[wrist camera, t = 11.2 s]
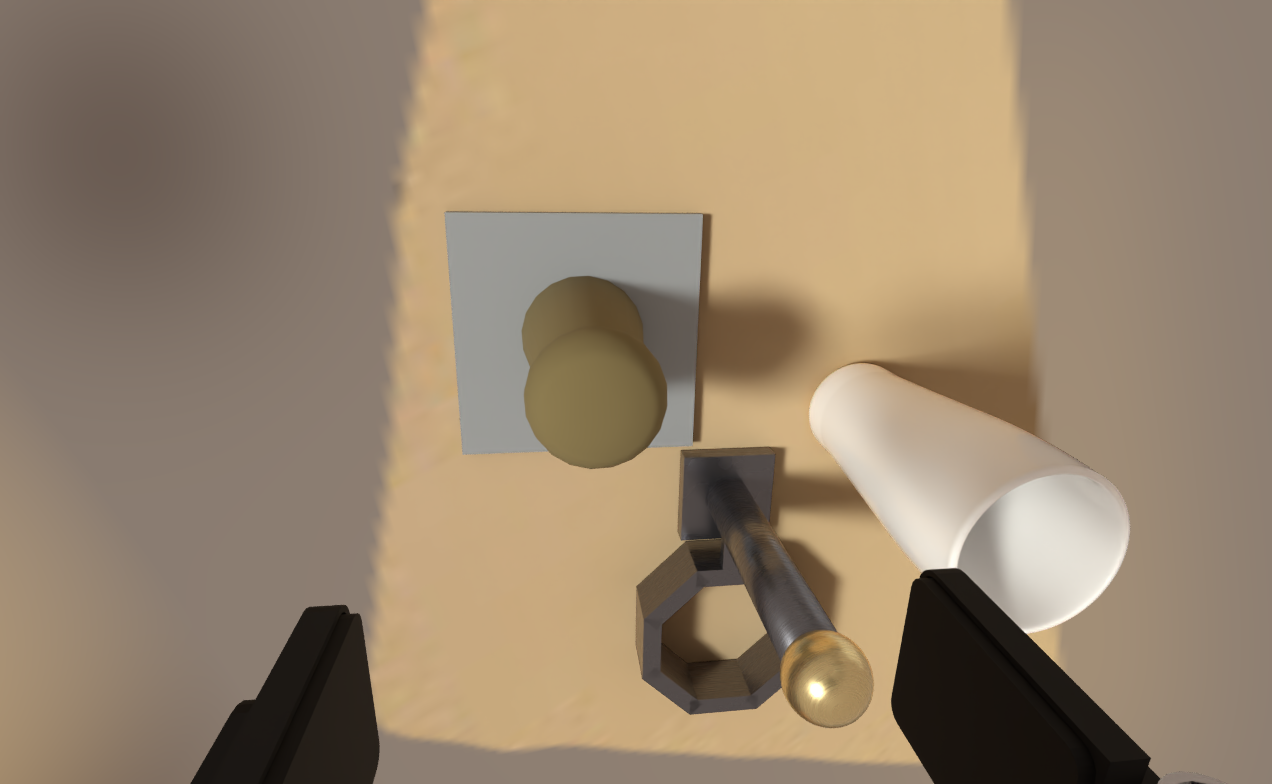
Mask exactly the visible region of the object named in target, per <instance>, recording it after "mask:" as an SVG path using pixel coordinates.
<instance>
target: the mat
mask: <svg viewBox="0 0 1272 784" xmlns="http://www.w3.org/2000/svg"><path fill="white" fill-rule="evenodd" d="M445 225H446V239H447V252H448V265H449V279H450V292H451V305H452V319H453V332H454V345H455V358H456V372H457V385H458V398H459V412H460V425H461V438H462V452H463V455H464V454H491V453H517V452H544V451H548V450H547V449H546V448H545V447H544V446H543V445H542V444H541V443H540V442H539V441H538V439H537V438H536V437H535V435H534V433H533V431H532V429H531V427H530V424H529V422H528V420H527V418H526V414H525V403H524V389H525V385H526V381H527V377H528V373H529V369H530V366H529V363H528V361H527V358H526V356H525V353H524V351H523V342H522V332H521V331H522V327H523V323H524V319H525V314H526V312H527V310H528V309H529V307H530V305H531V304H532V302H533V301H534V299H535V297H536V296H537V295H538V294H540V293H541V292H542V291H543V290H545V289H546V288H547V287H548V286H549V285H551V284H552V283H555V282H558V281H560V280H563V279H565V278H568V277H576V276H592V277H596V278H600V279H603V280H607V281H609V282H611V283H612V284H614V285H615V286H617V287H619V288H620V289H622V290H623V291H625V293H626V294H627V295H628V296H629V298H630V299H631V300H632V301H633V303H634V304H635V305H636V307H637V309H638V312H639V315H640V318H641V320H642V323H643V343H644V344H645V346H646V347H647V348H648V349H649V351H650V352H651V353H652V354H653V356H654V357H655V358H656V359H657V361H658V362H659V364H660V366H661V369H662V372H663V374H664V377H665V380H666V383H667V410H666V413H665V417H664V420H663V423H662V426H661V429H660V431H659V432H658V434H657V435H656V437H655V438H654V439H653V441H652V442H651V444H650V445H649V447H647V448H650V447H677V446H692V445H693V423H694V401H695V379H696V357H697V335H698V313H699V291H700V269H701V247H702V225H703V214H701V213H578V212H445Z"/></svg>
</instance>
